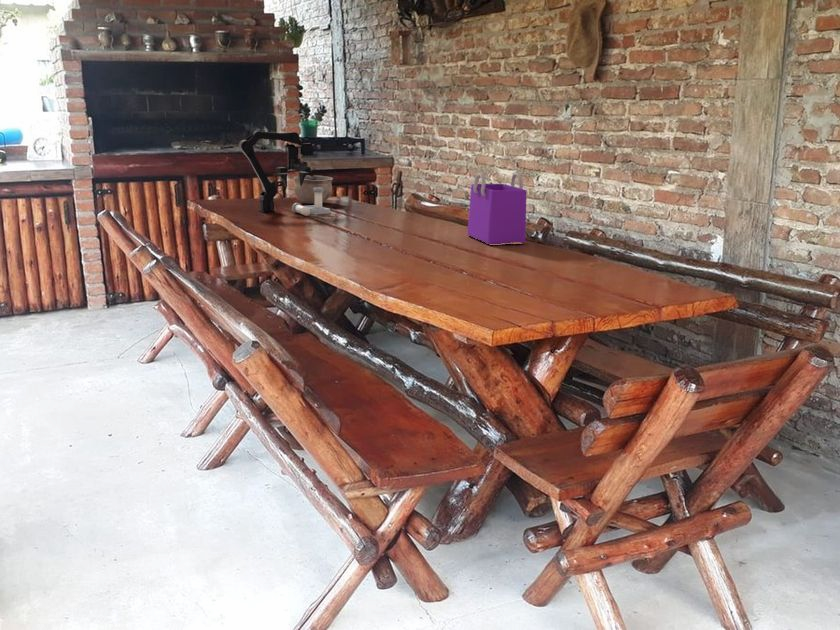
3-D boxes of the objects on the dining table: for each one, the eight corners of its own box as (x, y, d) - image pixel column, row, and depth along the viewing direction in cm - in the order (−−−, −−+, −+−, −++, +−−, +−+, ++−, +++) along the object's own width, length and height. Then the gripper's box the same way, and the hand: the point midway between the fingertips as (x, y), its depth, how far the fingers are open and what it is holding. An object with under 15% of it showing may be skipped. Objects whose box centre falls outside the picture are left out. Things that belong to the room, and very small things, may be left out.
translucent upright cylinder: (318, 212, 430) (318, 188, 427) (311, 211, 433) (311, 187, 430) (325, 211, 434) (325, 188, 431) (318, 210, 437) (318, 187, 434)
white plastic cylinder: (307, 219, 423) (313, 210, 424) (300, 213, 420) (306, 205, 420) (297, 214, 433) (302, 206, 433) (290, 208, 430) (295, 200, 430)
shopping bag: (457, 237, 372) (460, 170, 364) (497, 234, 383) (500, 169, 375) (493, 247, 349) (497, 176, 341) (534, 244, 359) (539, 175, 352)
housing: (330, 213, 433) (330, 208, 433) (315, 214, 428) (315, 209, 427) (313, 209, 445) (313, 205, 445) (299, 210, 440) (299, 206, 439)
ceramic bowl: (319, 200, 485) (319, 174, 481) (340, 204, 468) (340, 177, 465) (286, 202, 471) (286, 176, 467) (307, 207, 455) (306, 179, 451)
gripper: (285, 157, 420) (286, 188, 424) (316, 156, 432) (316, 186, 436) (274, 156, 428) (275, 186, 432) (305, 155, 440) (305, 184, 444)
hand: (293, 186), depth 436 cm, fingers open, 9 cm apart
